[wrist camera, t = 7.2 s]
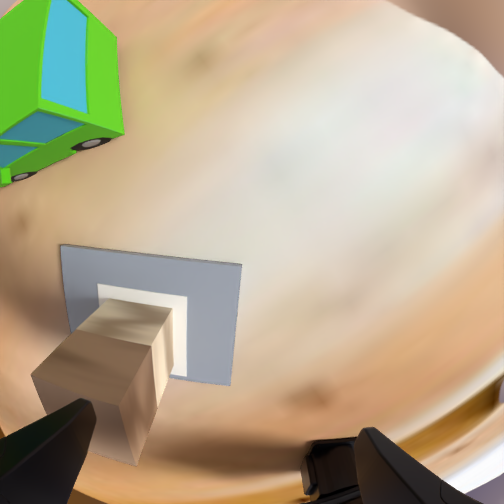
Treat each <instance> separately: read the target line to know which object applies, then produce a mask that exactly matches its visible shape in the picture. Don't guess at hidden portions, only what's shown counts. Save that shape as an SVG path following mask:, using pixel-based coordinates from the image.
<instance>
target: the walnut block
mask: <svg viewBox="0 0 504 504" xmlns="http://www.w3.org/2000/svg"><path fill="white" fill-rule="evenodd" d="M31 377H32V380H33V382H34V385H35V388H36V390H37V393H38V395H39V398H40V400H41V402H42V405H43V407H44V409H45V411H46V414H47V415H49V414H51V413H53V412H54V411H56V410H58V409H60V408H62V407H64V406H66V405H67V404H69V403H71V402H73V401H75V400H77V399H79V398H84V399H87V400H90V401H91V402H92V404H93V407H94V410H95V413H96V417H97V422H96V425H95V428H94V432H93V435H92V438H91V442H90V445H89V448H88V451H90V452H92V453H95V454H98V455H101V456H104V457H107V458H110V459H113V460H116V461H119V462H122V463H126V464H129V465H133V466H137V464H138V461H139V458H140V455H141V453H142V450H143V447H144V444H145V441H146V439H147V436H148V433H149V430H150V428H151V425H152V422H153V419H154V417H155V414H156V411H157V409H158V407H157V399H156V390H155V381H154V371H153V359H152V346H149V345H144V344H139V343H134V342H129V341H124V340H120V339H115V338H111V337H106V336H102V335H98V334H94V333H90V332H86V331H82V330H78V329H76V330H75V331H74V332H73V333H72V334H71V335H70V336H69V337H68V338H66V339H65V340H64V341H63V342H62V343H61V344H60V345H59V346H58V347H57V348H56V349H55V350H54V351H53V352H52V353H51V354H50V355H49V356H48V357H47V358H46V359H45V360H44V361H43V362H42V363H41V364H40V365H39V366H38V367H37V368H36V369H35V370H34V371H33V373H32V374H31Z"/></svg>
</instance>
